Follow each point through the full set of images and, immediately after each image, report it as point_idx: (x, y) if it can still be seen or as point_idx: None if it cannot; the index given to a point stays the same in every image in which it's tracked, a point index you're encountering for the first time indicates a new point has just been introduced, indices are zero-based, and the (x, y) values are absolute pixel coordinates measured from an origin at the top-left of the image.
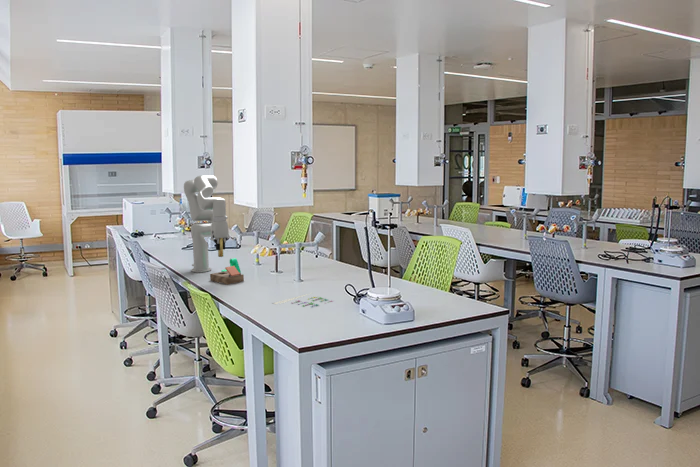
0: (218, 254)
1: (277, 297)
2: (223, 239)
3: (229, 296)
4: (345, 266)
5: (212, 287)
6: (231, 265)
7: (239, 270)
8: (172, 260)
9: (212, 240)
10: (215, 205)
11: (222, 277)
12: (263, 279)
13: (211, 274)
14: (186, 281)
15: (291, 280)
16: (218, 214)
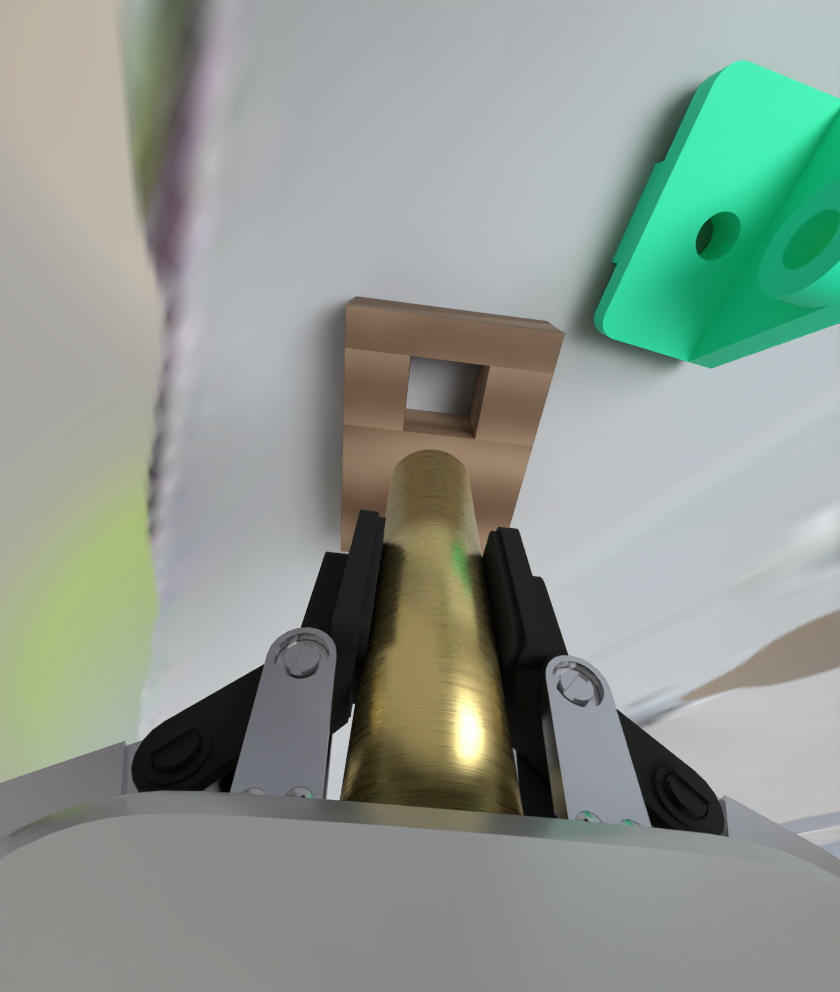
0: (389, 494)
1: (328, 783)
2: (604, 765)
3: (193, 685)
4: None
5: (224, 507)
6: (769, 246)
7: (712, 361)
8: None
9: (106, 756)
10: None
11: (343, 496)
12: (594, 591)
13: (345, 332)
14: (140, 77)
15: (628, 696)
16: None
